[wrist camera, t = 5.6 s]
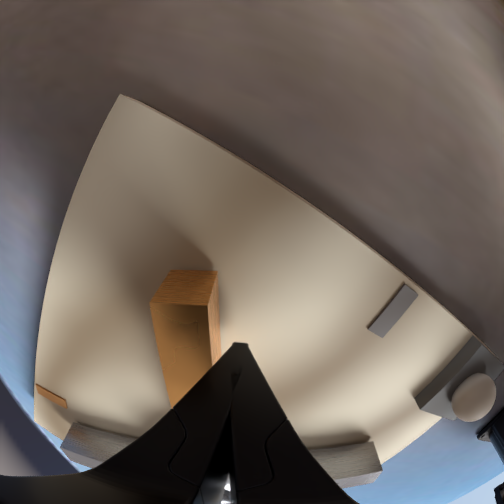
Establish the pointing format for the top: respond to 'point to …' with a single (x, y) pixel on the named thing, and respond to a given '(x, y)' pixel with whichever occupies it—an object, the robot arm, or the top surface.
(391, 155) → the top surface
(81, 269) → the board with rotating cross
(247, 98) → the top surface
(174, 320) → the capstan
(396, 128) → the top surface
